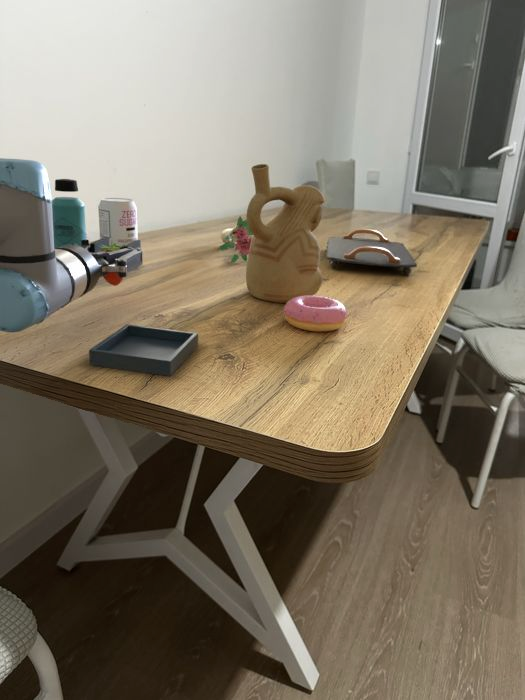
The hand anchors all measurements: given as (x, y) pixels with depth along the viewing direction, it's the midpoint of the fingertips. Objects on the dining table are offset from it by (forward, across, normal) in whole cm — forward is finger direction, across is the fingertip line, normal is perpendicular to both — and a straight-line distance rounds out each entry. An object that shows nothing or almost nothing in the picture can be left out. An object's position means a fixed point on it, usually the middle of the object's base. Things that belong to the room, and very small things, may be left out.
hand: (122, 246), depth 95 cm
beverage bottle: (+6, -13, -10) cm, 17 cm away
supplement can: (+23, -10, -10) cm, 26 cm away
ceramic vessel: (+10, +29, -10) cm, 32 cm away
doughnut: (-6, +36, -9) cm, 38 cm away
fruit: (-5, 0, -6) cm, 8 cm away
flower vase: (+45, +14, -10) cm, 48 cm away
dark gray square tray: (-27, +13, -9) cm, 31 cm away
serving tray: (+55, +50, -10) cm, 75 cm away
